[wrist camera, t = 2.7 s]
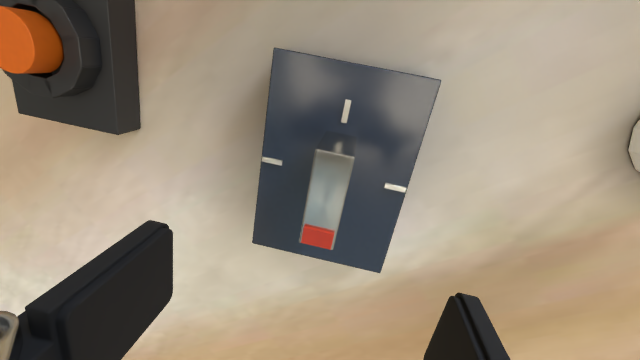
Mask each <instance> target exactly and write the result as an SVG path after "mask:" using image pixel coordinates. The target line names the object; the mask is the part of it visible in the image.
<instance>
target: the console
mask: <svg viewBox="0 0 640 360" xmlns="http://www.w3.org/2000/svg"><path fill="white" fill-rule="evenodd" d="M440 83H441V80H439V79H434V78H429V77H423V76H418V75H413V74H408V73H403V72H398V71H393V70H387V69H382V68H377V67H372V66H367V65H362V64H356V63H351V62H346V61H341V60H336V59H331V58H326V57H320V56H315V55H310V54H305V53H300V52H295V51H290V50H284V49H279V48H274V50H273V59H272V68H271V78H270V87H269V96H268V105H267V114H266V123H265V132H264V141H263V150H262V159H261V168H260V177H259V186H258V195H257V204H256V213H255V222H254V231H253V240H252V243H254V244H258V245H263V246H267V247H271V248H275V249H279V250H284V251H288V252H292V253H296V254H301V255H305V256H309V257H313V258H318V259H322V260H326V261H330V262H335V263H339V264H343V265H347V266H352V267H356V268H360V269H364V270H369V271H373V272H377V273H380V272H381V269H382V266H383V263H384V260H385V257H386V254H387V250H388V247H389V244H390V241H391V238H392V235H393V232H394V228H395V225H396V222H397V219H398V216H399V213H400V209H401V206H402V203H403V200H404V197H405V194H406V191H407V187H408V184H409V181H410V178H411V175H412V172H413V169H414V165H415V162H416V159H417V156H418V153H419V150H420V146H421V143H422V140H423V137H424V134H425V131H426V128H427V124H428V121H429V118H430V115H431V112H432V109H433V106H434V102H435V99H436V96H437V93H438V90H439V87H440ZM326 131H331V132H336V133H341V134H345V135H350V136H355V137H356V138H357V140H356V150H355V159H354V164H353V168H352V172H351V176H350V181H349V185H348V189H347V193H346V198H345V202H344V206H343V210H342V215H341V219H340V223H339V227H338V232H337V236H336V240H335V244H334V249H333V250H329V249H325V248H321V247H317V246H312V245H308V244H304V243H300V242H299V238H300V232H301V227H302V221H303V216H304V210H305V204H306V199H307V193H308V188H309V182H310V177H311V171H312V166H313V160H314V155H315V150H316V148H317V146H318V145H319V143H320V141H321V139H322V137H323V136H324V134H325V132H326Z"/></svg>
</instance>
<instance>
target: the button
mask: <svg viewBox="0 0 640 360" xmlns="http://www.w3.org/2000/svg"><path fill="white" fill-rule="evenodd" d="M62 60H63V44H62V41H61V38H60V36H59V34H58V32H57V30H56V29H55V27H54V26H53V25H52V23H51V22H50V21H49V20H48V19H46V18H45V17H44V16H42V15H41V14H39V13H37V12H34V11H30V10H24V9H17V8H11V7H5V6H0V68H1V69H3V70H5V71H8V72H10V73H15V74H25V73H50V72H53V71H55V70H56V69H57V68H59V66H60V65H61V63H62Z"/></svg>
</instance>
